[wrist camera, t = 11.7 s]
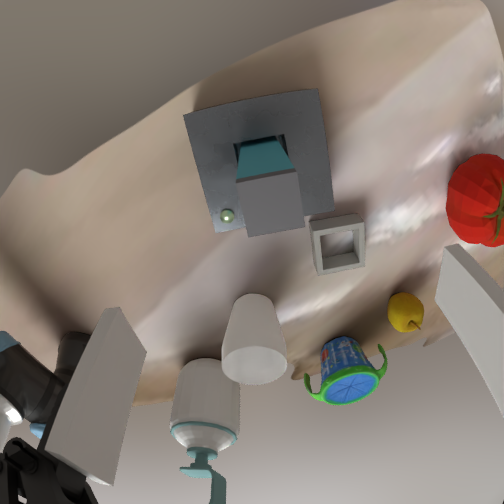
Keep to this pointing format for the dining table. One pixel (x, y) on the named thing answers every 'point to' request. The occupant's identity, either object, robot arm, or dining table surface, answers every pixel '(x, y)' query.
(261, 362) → the cup
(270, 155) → the plug
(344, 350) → the snack cup
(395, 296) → the apple
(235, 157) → the port
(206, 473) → the soap bottle
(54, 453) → the robot arm
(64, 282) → the dining table surface
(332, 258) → the holster
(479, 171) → the tomato
